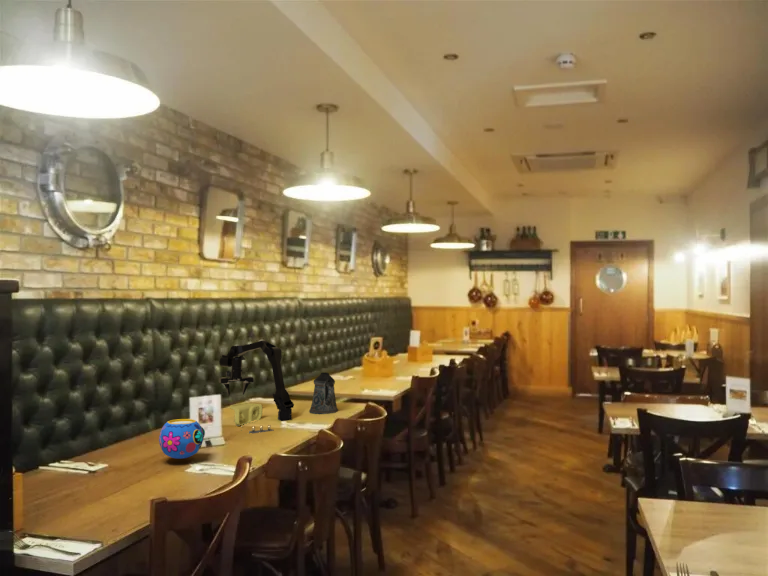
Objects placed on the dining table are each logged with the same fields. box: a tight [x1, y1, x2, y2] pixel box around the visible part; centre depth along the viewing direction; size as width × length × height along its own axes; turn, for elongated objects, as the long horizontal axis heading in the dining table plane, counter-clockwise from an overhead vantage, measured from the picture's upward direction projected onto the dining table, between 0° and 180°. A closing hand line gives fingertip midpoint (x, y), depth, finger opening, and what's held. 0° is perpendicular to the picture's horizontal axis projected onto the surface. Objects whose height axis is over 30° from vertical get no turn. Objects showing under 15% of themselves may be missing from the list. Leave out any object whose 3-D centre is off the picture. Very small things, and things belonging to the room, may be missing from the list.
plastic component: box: [229, 402, 263, 426], centre depth 348 cm, size 20×7×10 cm, turn 153°
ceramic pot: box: [158, 418, 206, 460], centre depth 268 cm, size 18×18×15 cm
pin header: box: [248, 424, 274, 434], centre depth 322 cm, size 12×2×3 cm, turn 117°
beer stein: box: [308, 372, 339, 415], centre depth 371 cm, size 16×19×25 cm
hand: (235, 395), depth 366 cm, fingers open, 8 cm apart
